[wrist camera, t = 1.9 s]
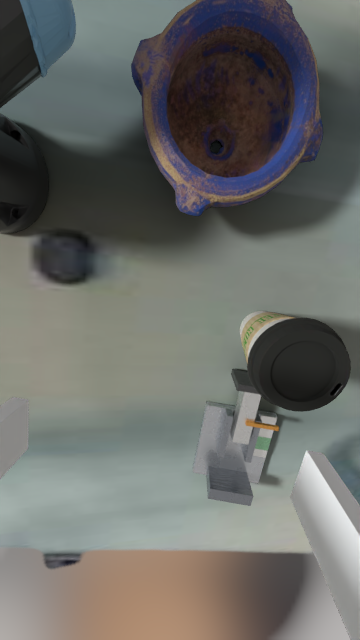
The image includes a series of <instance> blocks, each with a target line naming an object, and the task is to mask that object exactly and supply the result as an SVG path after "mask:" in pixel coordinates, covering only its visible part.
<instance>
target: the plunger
mask: <svg viewBox="0 0 360 640" xmlns="http://www.w3.org/2000/svg"><path fill="white" fill-rule="evenodd" d="M231 375H232V378H233V381H234V384H235V386H236V389H237V391H239V395H238V399H237V404H236V408H235V412H234V416H233V421H232V425H231V430H230V434H231V439H232V442H236V443H242V444H249V440H250V436H251V432H252V429H253V427H257V428H263V429H269V430H275V431H278V430H279V427H278V426H277V425H272V424H266V423H260V422H254V421H255V417H256V414H257V410H258V406H259V402H260V399H261V395H260V394H259V393H258V392H257V391H256V390H255V388H254V387H253V385H252V384H251V381H250V378H249V376H248V371H242V370H236V369H232V373H231Z"/></svg>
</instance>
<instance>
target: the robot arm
mask: <svg viewBox="0 0 360 640" xmlns="http://www.w3.org/2000/svg"><path fill="white" fill-rule="evenodd" d="M75 34H76V21H75V14H74V9H73V5H72V1H71V0H0V108H1V107H2V106H3V105H5V104H6V103H7V102H8V101H10V100H11V99H12V98H14V97H15V96H16V95H17V94H19V93H20V92H21V91H23V90H24V89H25V88H26V87H28V86H29V85H30V84H31V83H33V82H34V81H35V80H37V79H38V78H39V77H40V76H42V77H43V78H44V77H45V76H46V74H47V69H48V68H49V67H50V66H51V65H52V64H54V63H55V62H56V61H57V60H58V59H59V58H60V57H61V56H62V55H63V54H64V53H65V52H66V51H67V50H68V49H69V48H70V47H71V46H72V44H73V42H74V39H75ZM48 188H49V181H48V172H47V168H46V164H45V161H44V159H43V156H42V154H41V152H40V150H39V148H38V147H37V145H36V144H35V142H34V141H33V140H32V138H31V137H30V136H29V135H28V134H27V133H26V132H25V131H24V130H23V129H21V128H20V127H19V126H18V125H16V124H15V123H14V122H13V121H11V120H10V119H9V118H7V117H6V116H4V115H2V114H1V113H0V233H14V232H18V231H21V230H23V229H25V228H27V227H29V226H30V225H31V224H33V223H34V222H35V221H36V220H37V218H38V217H39V216H40V214H41V213H42V211H43V209H44V206H45V204H46V201H47V196H48ZM28 420H29V400H28V399H22V398H17V397H12V398H10V399H9V400H8V401H6V402H5V403H4V404H2V405H1V406H0V479H1V478H2V477H3V476H4V475H5V473H6V472H7V471H8V470H9V469H10V468H11V467H12V466H13V465H14V464H15V462H16V461H17V460H18V459H19V458H20V457H21V456H22V455H23V454H24V452H25V451H26V450H27V449H28ZM290 498H291V500H292V503H293V505H294V507H295V510H296V512H297V514H298V517H299V519H300V521H301V524H302V526H303V528H304V531H305V533H306V536H307V538H308V540H309V543H310V545H311V547H312V550H313V552H314V554H315V557H316V559H317V561H318V564H319V566H320V569H321V571H322V573H323V575H324V578H325V580H326V583H327V585H328V587H329V589H330V592H331V594H332V597H333V599H334V602H335V604H336V606H337V608H338V611H339V613H340V616H341V618H342V620H343V623H344V625H345V628H346V630H347V632H348V635H349V637H350V639H351V640H360V505H359V504H358V502H357V501H356V500H355V498H354V497H353V495H352V494H351V492H350V491H349V490H348V488H347V487H346V485H345V484H344V482H343V481H342V480H341V478H340V477H339V475H338V474H337V472H336V471H335V470H334V468H333V467H332V465H331V464H330V462H329V461H328V460H327V458H326V457H325V455H324V454H323V453H319V452H314V451H308V450H307V451H306V453H305V456H304V459H303V462H302V465H301V468H300V470H299V473H298V476H297V479H296V482H295V484H294V487H293V490H292V493H291V496H290Z"/></svg>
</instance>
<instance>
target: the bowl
mask: <svg viewBox="0 0 360 640" xmlns="http://www.w3.org/2000/svg"><path fill="white" fill-rule="evenodd" d="M131 69H132V77H133V80H134V83H135V85H136V87H137V89H138V90H139V92H140V94H141V96H142V113H143V127H144V132H145V135H146V139H147V142H148V146H149V150H150V153H151V155H152V157H153V159H154V161H155V162H156V164H157V166H158V168H159V170H160V172H161V173H162V174H163V175H164V177H165V178H166V179H167V180H168V182H169V183H170V184H171V186H172V187H173V189H174V190H175V195H176V205H177V207H178V208H179V210H180V211H181V212H183V213H186V214H189V215H193V216H200V215H201V214H202V213H203V211H204V210H206V209H208V208H210V207H212V206H213V207H230V206H236V205H242V204H245V203H248V202H250V201H253V200H255V199H258V198H260V197H262V196H264V195H265V194H266V193H268V192H269V191H271V190H272V189H274V188H275V187H276V186H278V185H279V184H280V183H281V182H282V181H283V180H284V179H285V177H286V176H287V175H288V174H289V173H290V172H291V171H292V170H293V169H294V168H295V167H296V166H297V165H298V164H299V163H300V162H308V161H313V160H315V158H316V155H317V153H318V151H319V148H320V145H321V142H322V138H323V126H322V121H321V116H320V112H319V78H318V70H317V62H316V58H315V55H314V53H313V50H312V48H311V45H310V43H309V40H308V38H307V36H306V35H305V33H304V32H303V30H302V28H301V27H300V25H299V24H298V22H297V21H296V19H295V17H294V14H293V12H292V7H291V5H289V4H288V3H287V1H286V0H196V1H195V2H193V3H192V4H190V5H189V6H187V7H185V8H184V9H182V10H181V11H179V12H178V13H177V14H176V15H175V17H174V18H173V19H172V20H171V22H170V23H169V24H168V26H167V27H166V28H165V29H164V31H163V32H162V33H161V34H158V35H156V36H154V37H152V38H148V39H144V40H141V41H140V43H139V46H138V48H137V51H136V53H135V56H134V59H133V62H132V66H131ZM215 140H218V141H220V143H221V145H223V147H222V148H220V150H219V152H218V153H213V152H211V150H210V145H211V143H212V142H214V141H215Z"/></svg>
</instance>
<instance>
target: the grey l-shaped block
mask: <svg viewBox="0 0 360 640" xmlns="http://www.w3.org/2000/svg"><path fill="white" fill-rule="evenodd" d="M235 408H236V406H232V405H226V404H220V403H214V402H208V401H206V405H205V410H204V415H203V420H202V424H201V429H200V434H199V439H198V444H197V449H196V454H195V459H194V463H193V473H199V474H205V475H206V477H207V492H208V499H214V500H220V501H225V502H231V503H237V504H242V505H248V506H251V502H252V499H253V494H252V490H251V486H250V482H251V483H257V484H258V482H259V479H260V476H261V472H262V469H263V465H264V462H265V458H266V455H267V452H268V448H269V445H270V441H271V438H272V435H273V431H274V430H269V429H263V428H257V427H253V429H252V432H251V436H250V440H249V444H242V443H236V442H232V439H231V434H230V430H231V425H232V421H233V416H234V412H235ZM277 418H278V417H277V415H276V414H275V413H273V412H267V411H261V410H257V414H256V417H255V421H254V422H260V423H266V424H272V425H275V424H276V421H277Z"/></svg>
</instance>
